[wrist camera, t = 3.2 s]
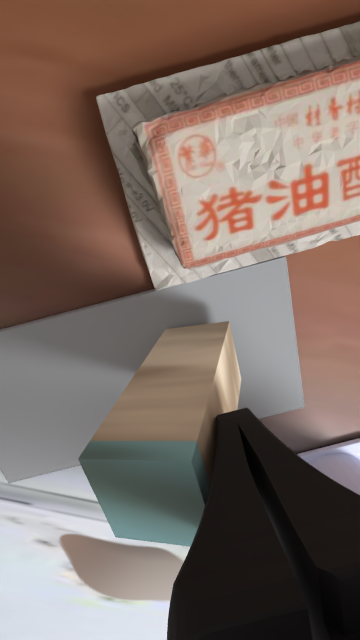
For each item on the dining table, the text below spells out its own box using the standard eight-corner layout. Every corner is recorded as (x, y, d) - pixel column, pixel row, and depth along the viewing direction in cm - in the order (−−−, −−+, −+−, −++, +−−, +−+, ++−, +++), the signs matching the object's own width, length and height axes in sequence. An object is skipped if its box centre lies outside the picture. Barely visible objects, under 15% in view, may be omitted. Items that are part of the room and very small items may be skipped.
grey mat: (300, 402, 22) (304, 407, 22) (12, 476, 23) (8, 483, 22) (282, 255, 19) (285, 256, 18) (-66, 346, 19) (-72, 350, 18)
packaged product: (562, -78, 11) (523, 210, 14) (442, 5, 15) (434, 209, 19) (75, 64, 11) (153, 312, 15) (98, 105, 16) (153, 287, 19)
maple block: (241, 379, 19) (218, 549, 10) (181, 382, 20) (115, 537, 12) (229, 321, 18) (191, 461, 9) (165, 329, 19) (77, 458, 10)
